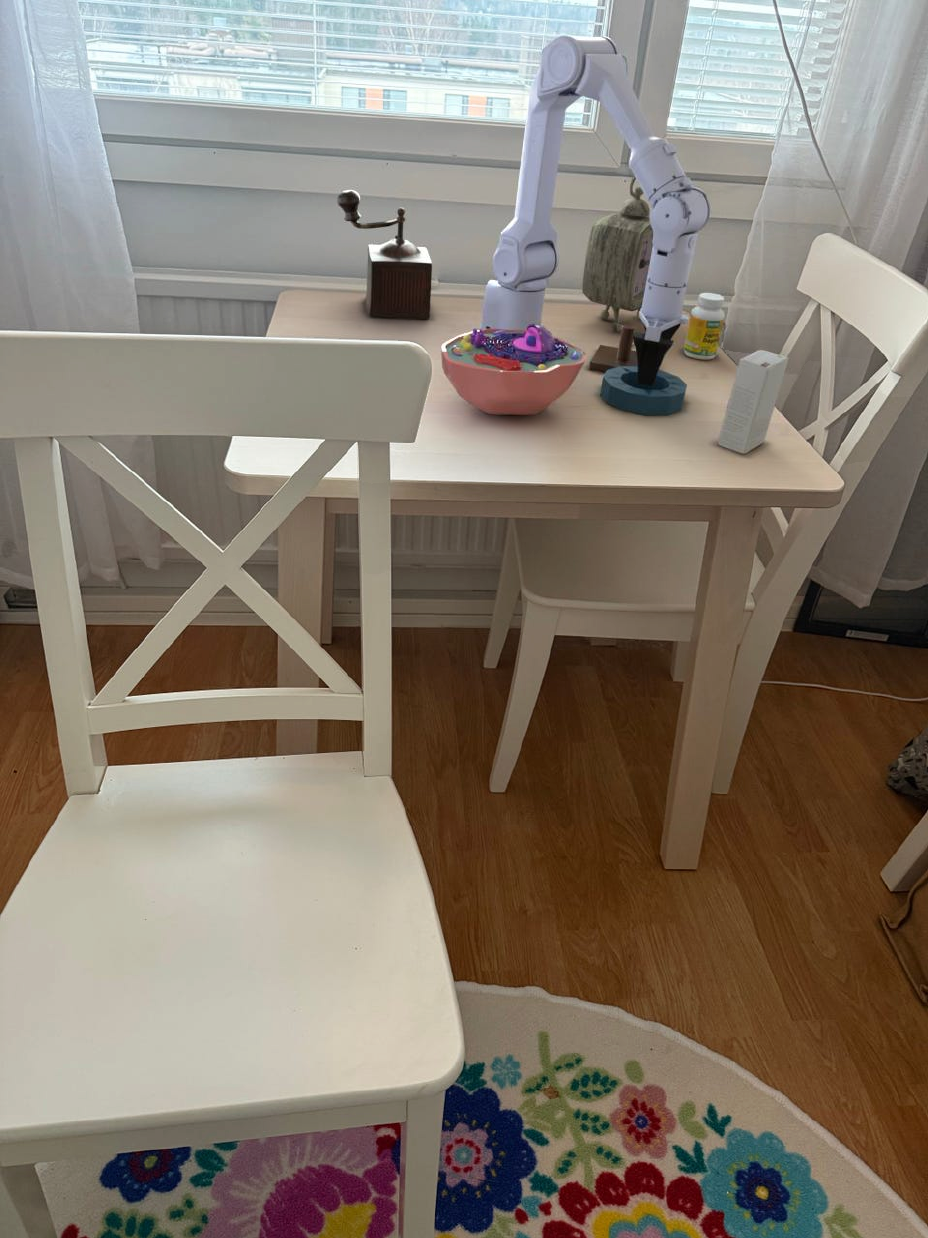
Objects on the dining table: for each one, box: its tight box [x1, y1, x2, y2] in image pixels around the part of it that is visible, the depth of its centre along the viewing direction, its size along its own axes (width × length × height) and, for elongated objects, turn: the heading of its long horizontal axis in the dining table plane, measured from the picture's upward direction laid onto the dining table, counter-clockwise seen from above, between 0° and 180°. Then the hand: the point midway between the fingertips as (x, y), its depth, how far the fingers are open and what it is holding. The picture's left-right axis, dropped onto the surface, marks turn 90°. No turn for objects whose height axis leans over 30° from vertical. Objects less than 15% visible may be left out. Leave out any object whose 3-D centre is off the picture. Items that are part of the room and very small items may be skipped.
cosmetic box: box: [717, 349, 789, 455], centre depth 127 cm, size 6×4×12 cm
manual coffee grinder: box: [336, 189, 433, 320], centre depth 162 cm, size 16×11×18 cm
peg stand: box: [588, 324, 638, 373], centre depth 151 cm, size 9×9×6 cm
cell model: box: [440, 324, 588, 416], centre depth 131 cm, size 17×20×11 cm
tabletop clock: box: [581, 175, 653, 333], centre depth 165 cm, size 14×9×25 cm, turn 148°
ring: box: [599, 366, 688, 416], centre depth 141 cm, size 12×12×3 cm
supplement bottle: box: [683, 292, 726, 361], centre depth 158 cm, size 5×5×10 cm
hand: (648, 375), depth 144 cm, fingers open, 7 cm apart
